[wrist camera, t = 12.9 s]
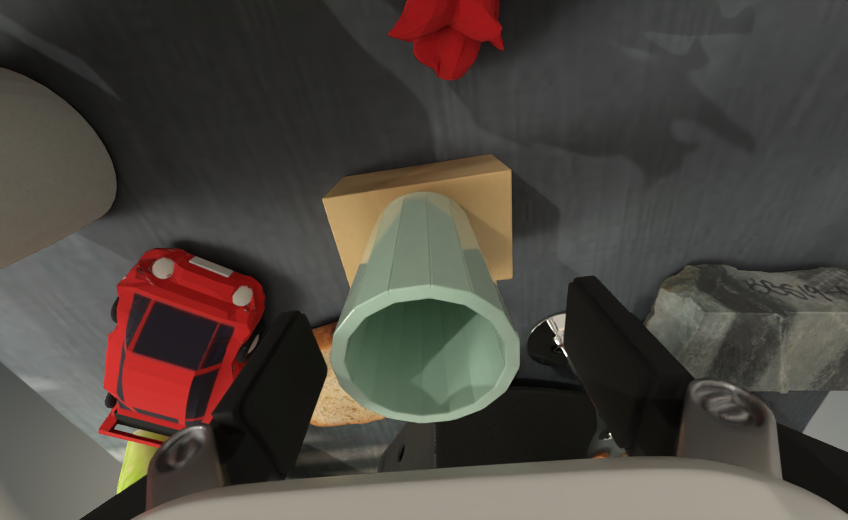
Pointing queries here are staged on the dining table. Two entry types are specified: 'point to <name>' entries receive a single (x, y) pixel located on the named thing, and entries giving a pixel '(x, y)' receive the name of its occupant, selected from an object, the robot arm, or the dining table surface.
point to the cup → (424, 318)
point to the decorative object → (46, 169)
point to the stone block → (756, 326)
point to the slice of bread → (336, 392)
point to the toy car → (177, 342)
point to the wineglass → (550, 352)
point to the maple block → (457, 179)
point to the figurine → (449, 32)
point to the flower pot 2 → (498, 433)
